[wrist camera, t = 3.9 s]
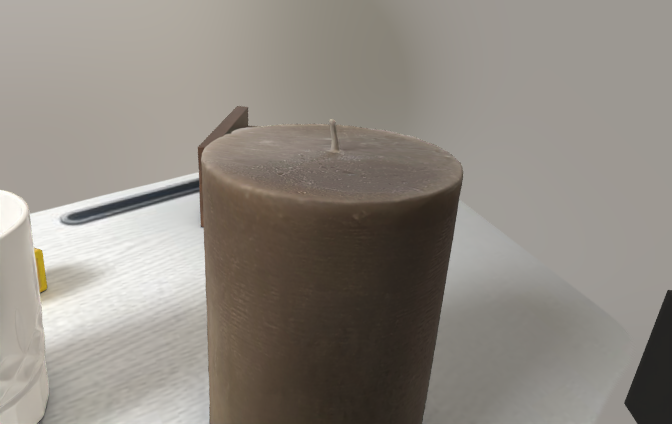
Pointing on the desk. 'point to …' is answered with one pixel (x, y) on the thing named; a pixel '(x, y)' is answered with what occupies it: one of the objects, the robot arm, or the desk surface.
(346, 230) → the pillar candle
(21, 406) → the white cup
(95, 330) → the desk surface
